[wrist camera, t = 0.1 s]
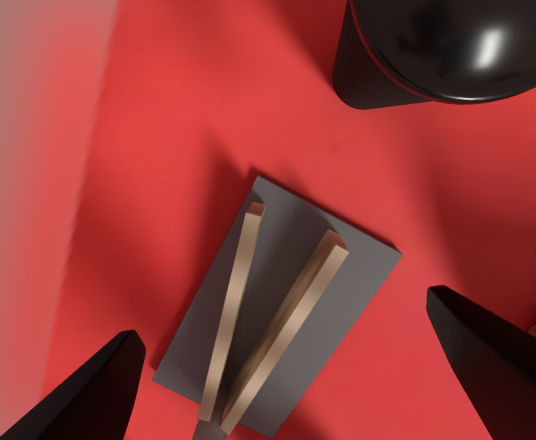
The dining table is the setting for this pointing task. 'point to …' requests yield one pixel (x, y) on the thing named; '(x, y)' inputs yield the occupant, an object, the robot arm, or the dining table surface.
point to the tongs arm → (231, 307)
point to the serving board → (276, 304)
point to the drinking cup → (435, 52)
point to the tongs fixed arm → (274, 338)
